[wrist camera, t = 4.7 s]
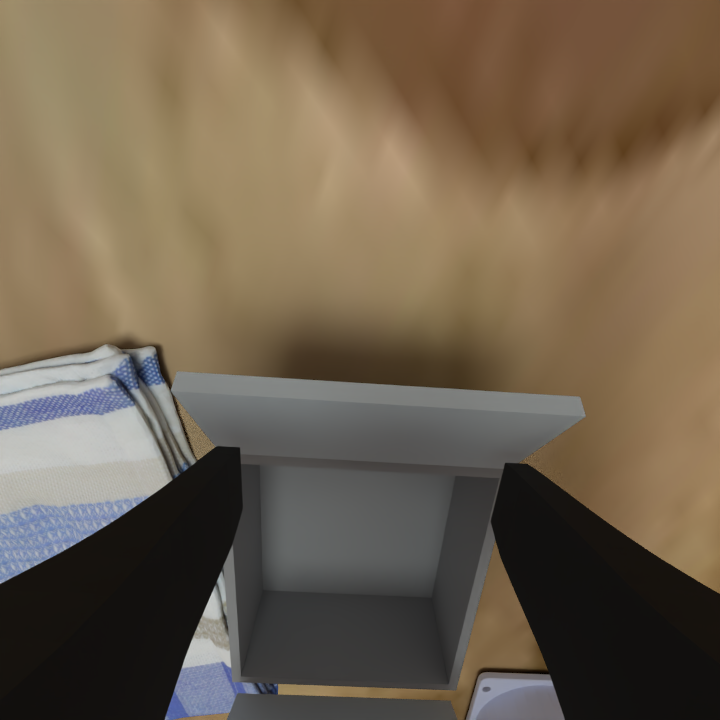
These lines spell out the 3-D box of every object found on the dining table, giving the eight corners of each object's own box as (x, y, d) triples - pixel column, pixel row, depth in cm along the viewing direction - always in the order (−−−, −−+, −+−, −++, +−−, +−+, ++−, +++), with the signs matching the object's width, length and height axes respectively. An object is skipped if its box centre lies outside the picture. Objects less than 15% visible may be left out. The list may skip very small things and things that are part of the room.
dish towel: (160, 325, 16) (122, 346, 13) (292, 672, 24) (284, 728, 22) (-204, 390, 17) (-306, 421, 14) (41, 703, 25) (4, 759, 23)
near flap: (585, 416, 9) (580, 397, 9) (170, 391, 8) (177, 371, 9) (509, 469, 12) (506, 454, 13) (220, 452, 12) (224, 438, 12)
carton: (436, 596, 21) (456, 690, 17) (257, 588, 21) (232, 681, 17) (474, 406, 17) (513, 469, 13) (250, 392, 17) (215, 452, 12)
